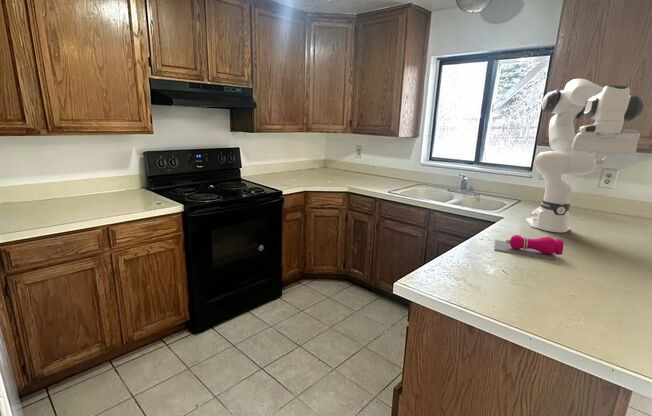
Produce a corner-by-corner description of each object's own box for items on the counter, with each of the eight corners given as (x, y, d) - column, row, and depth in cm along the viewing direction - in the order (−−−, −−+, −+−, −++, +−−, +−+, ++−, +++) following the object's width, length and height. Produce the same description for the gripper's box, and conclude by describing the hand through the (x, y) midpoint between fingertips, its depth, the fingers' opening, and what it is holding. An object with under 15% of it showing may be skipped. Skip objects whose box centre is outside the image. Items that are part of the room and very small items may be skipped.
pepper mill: (558, 249, 145) (504, 243, 152) (561, 234, 141) (506, 229, 149) (561, 259, 139) (504, 252, 146) (564, 244, 135) (507, 238, 143)
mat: (552, 250, 148) (552, 249, 148) (556, 261, 137) (556, 260, 137) (495, 241, 157) (495, 239, 157) (494, 250, 146) (494, 249, 146)
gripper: (638, 129, 134) (629, 165, 138) (575, 127, 143) (567, 160, 146) (644, 130, 129) (634, 167, 132) (577, 127, 137) (570, 162, 141)
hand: (598, 164), depth 139 cm, fingers closed
